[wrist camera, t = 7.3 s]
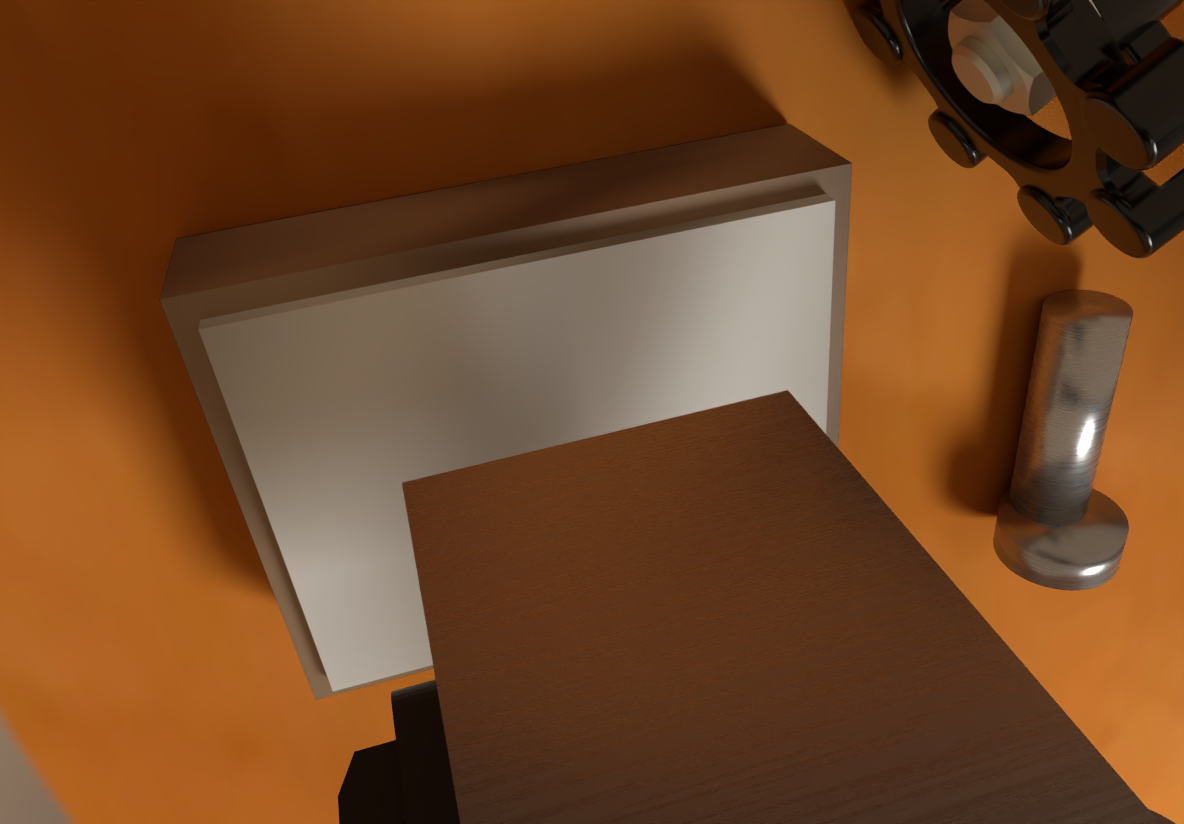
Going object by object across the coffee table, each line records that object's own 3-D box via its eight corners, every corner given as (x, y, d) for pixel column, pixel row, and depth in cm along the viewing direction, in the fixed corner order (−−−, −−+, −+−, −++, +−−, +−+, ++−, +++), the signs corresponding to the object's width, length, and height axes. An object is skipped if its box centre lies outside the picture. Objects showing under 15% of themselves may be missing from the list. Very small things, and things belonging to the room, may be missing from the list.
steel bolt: (1003, 304, 19) (1091, 366, 17) (1116, 279, 20) (1216, 335, 18) (970, 528, 23) (1040, 603, 20) (1067, 502, 23) (1146, 572, 21)
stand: (790, 123, 16) (861, 170, 14) (785, 495, 21) (839, 571, 19) (176, 239, 15) (157, 309, 13) (313, 615, 19) (315, 713, 17)
